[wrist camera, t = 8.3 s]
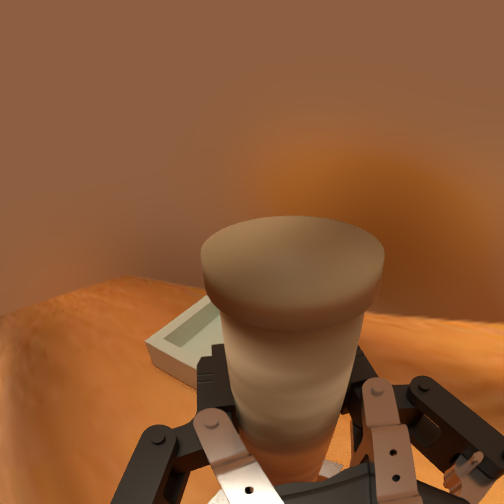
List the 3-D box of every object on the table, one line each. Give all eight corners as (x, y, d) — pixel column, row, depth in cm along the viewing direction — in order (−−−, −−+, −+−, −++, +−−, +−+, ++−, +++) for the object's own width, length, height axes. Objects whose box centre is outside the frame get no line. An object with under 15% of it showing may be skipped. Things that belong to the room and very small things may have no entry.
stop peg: (226, 482, 13) (161, 261, 7) (268, 429, 17) (260, 209, 11) (299, 516, 11) (361, 316, 5) (335, 454, 15) (394, 229, 9)
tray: (153, 364, 33) (144, 341, 32) (219, 310, 44) (216, 288, 42) (264, 422, 25) (262, 399, 24) (318, 341, 36) (321, 317, 34)
